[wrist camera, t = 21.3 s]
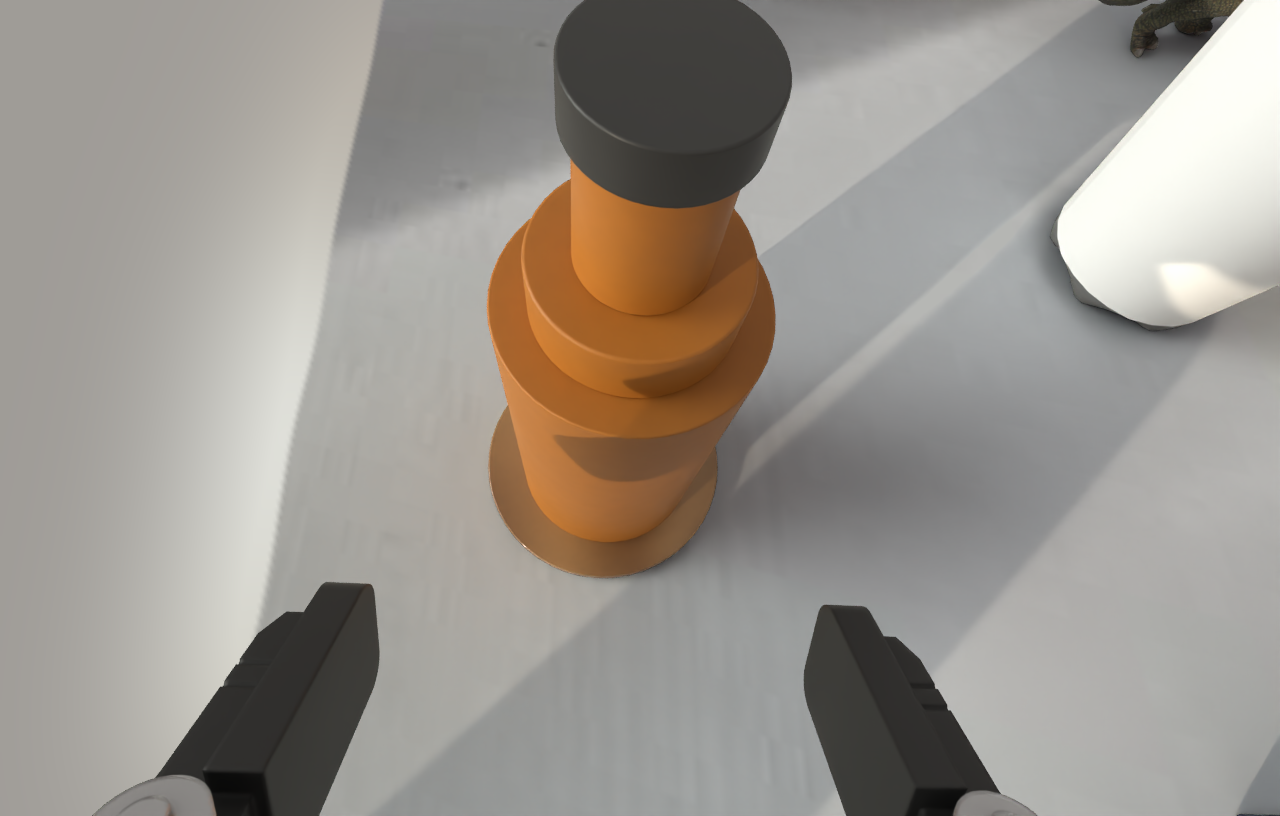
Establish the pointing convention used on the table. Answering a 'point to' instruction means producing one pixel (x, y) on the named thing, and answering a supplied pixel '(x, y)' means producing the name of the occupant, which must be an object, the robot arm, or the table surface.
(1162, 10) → the toy dinosaur
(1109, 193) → the cup
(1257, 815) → the case
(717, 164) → the bottle
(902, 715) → the robot arm
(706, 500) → the coaster
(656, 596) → the table surface
